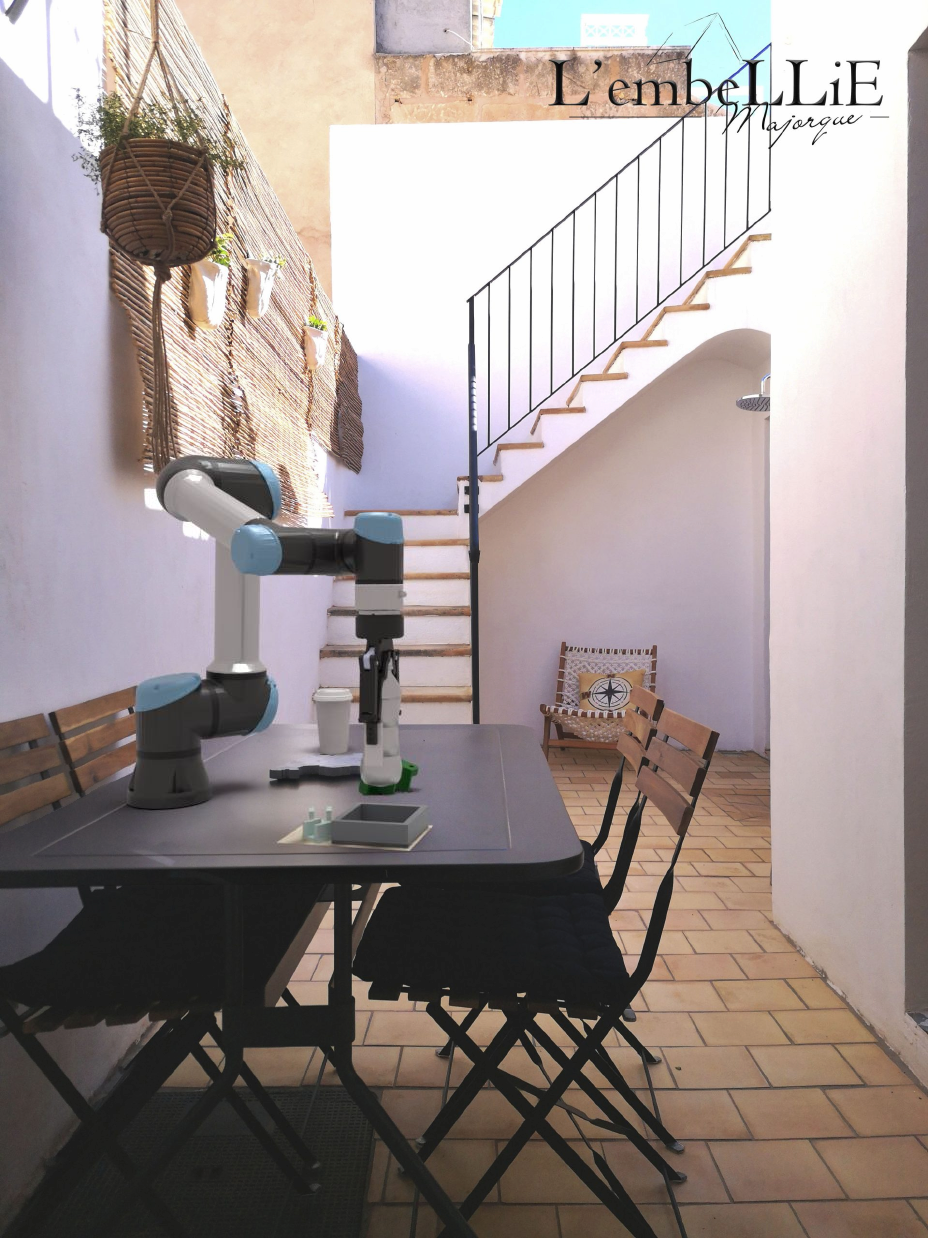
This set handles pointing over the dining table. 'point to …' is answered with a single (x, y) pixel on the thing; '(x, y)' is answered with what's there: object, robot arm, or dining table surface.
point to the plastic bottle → (387, 737)
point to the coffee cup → (333, 719)
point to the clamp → (403, 784)
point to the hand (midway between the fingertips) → (380, 760)
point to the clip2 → (316, 830)
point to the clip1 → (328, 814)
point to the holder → (380, 825)
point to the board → (297, 834)
